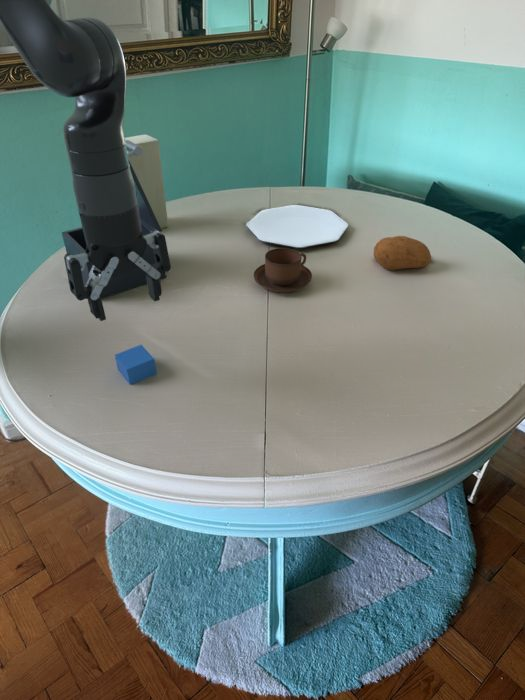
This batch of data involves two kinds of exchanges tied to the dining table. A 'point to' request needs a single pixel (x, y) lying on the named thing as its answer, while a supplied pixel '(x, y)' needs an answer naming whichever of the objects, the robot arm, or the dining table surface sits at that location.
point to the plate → (297, 226)
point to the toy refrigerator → (150, 175)
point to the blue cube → (135, 364)
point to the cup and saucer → (283, 271)
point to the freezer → (124, 282)
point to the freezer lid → (141, 190)
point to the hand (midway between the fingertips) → (128, 308)
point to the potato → (401, 253)
